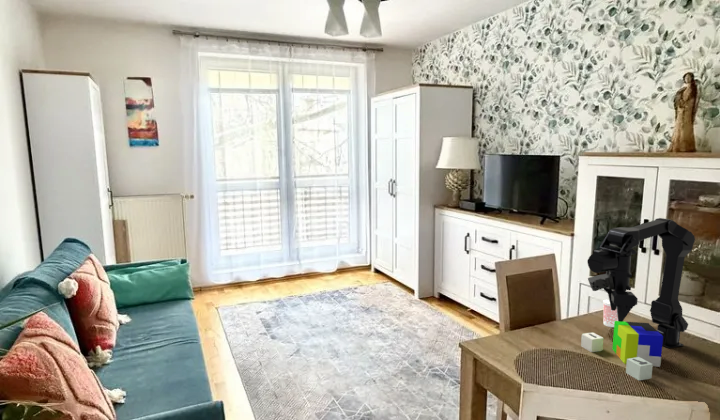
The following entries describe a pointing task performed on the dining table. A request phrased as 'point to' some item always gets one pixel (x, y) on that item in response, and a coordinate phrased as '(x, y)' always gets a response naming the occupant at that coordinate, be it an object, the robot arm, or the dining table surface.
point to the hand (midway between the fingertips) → (616, 315)
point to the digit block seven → (639, 368)
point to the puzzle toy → (637, 342)
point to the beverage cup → (609, 314)
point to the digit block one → (592, 342)
